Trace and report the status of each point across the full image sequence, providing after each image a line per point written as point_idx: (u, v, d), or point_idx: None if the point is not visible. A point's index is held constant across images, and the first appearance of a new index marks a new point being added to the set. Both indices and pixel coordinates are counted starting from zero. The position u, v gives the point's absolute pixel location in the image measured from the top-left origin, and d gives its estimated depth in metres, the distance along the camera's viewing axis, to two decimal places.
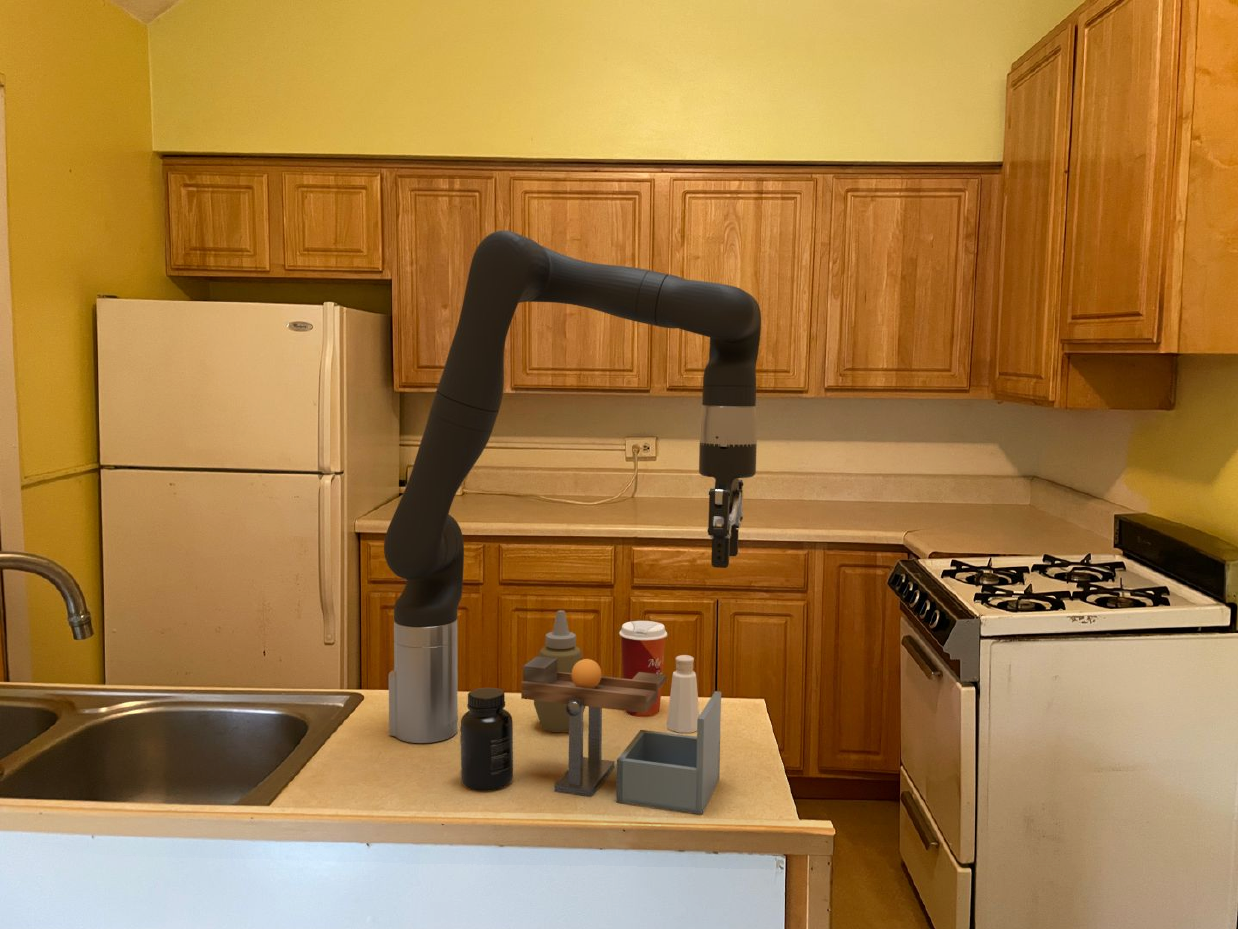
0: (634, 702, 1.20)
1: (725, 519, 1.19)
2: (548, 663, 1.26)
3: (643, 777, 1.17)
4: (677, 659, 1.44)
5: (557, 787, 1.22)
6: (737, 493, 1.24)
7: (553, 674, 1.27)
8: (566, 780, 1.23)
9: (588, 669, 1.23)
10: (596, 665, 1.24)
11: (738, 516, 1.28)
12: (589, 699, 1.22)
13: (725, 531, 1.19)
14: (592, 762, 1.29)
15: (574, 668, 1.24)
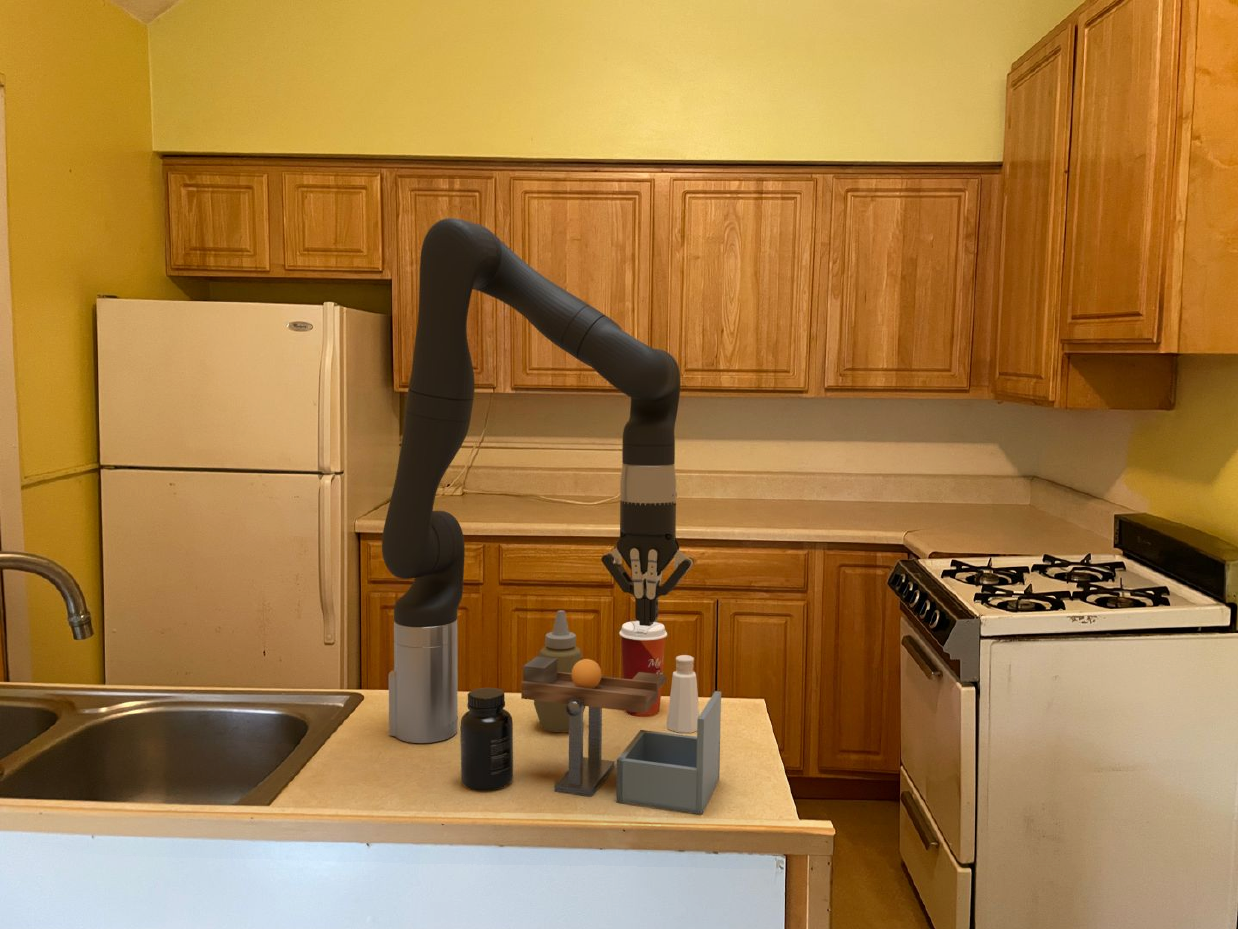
0: (634, 702, 1.20)
1: None
2: (548, 663, 1.26)
3: (643, 777, 1.17)
4: (677, 659, 1.44)
5: (557, 787, 1.22)
6: None
7: (553, 674, 1.27)
8: (566, 780, 1.23)
9: (588, 669, 1.23)
10: (596, 665, 1.24)
11: (646, 575, 1.29)
12: (589, 699, 1.22)
13: (671, 590, 1.28)
14: (592, 762, 1.29)
15: (574, 668, 1.24)
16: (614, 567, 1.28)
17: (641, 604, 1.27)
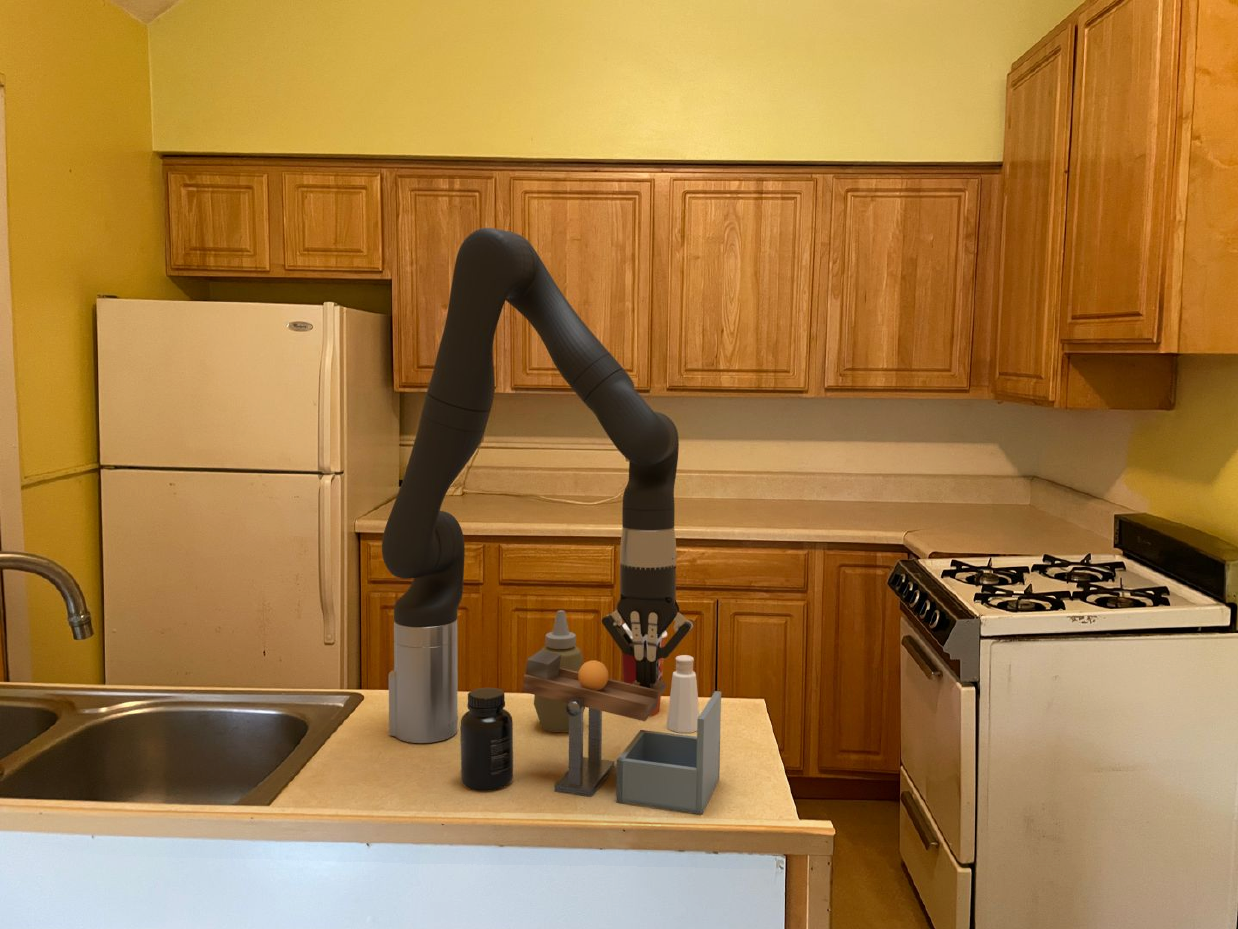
0: (635, 709, 1.20)
1: None
2: (552, 659, 1.26)
3: (643, 777, 1.17)
4: (677, 659, 1.44)
5: (557, 787, 1.22)
6: None
7: (555, 670, 1.27)
8: (566, 780, 1.23)
9: (598, 674, 1.23)
10: (606, 672, 1.24)
11: (647, 636, 1.30)
12: (590, 701, 1.22)
13: (671, 652, 1.28)
14: (592, 762, 1.29)
15: (585, 667, 1.23)
16: (614, 629, 1.28)
17: (641, 666, 1.28)
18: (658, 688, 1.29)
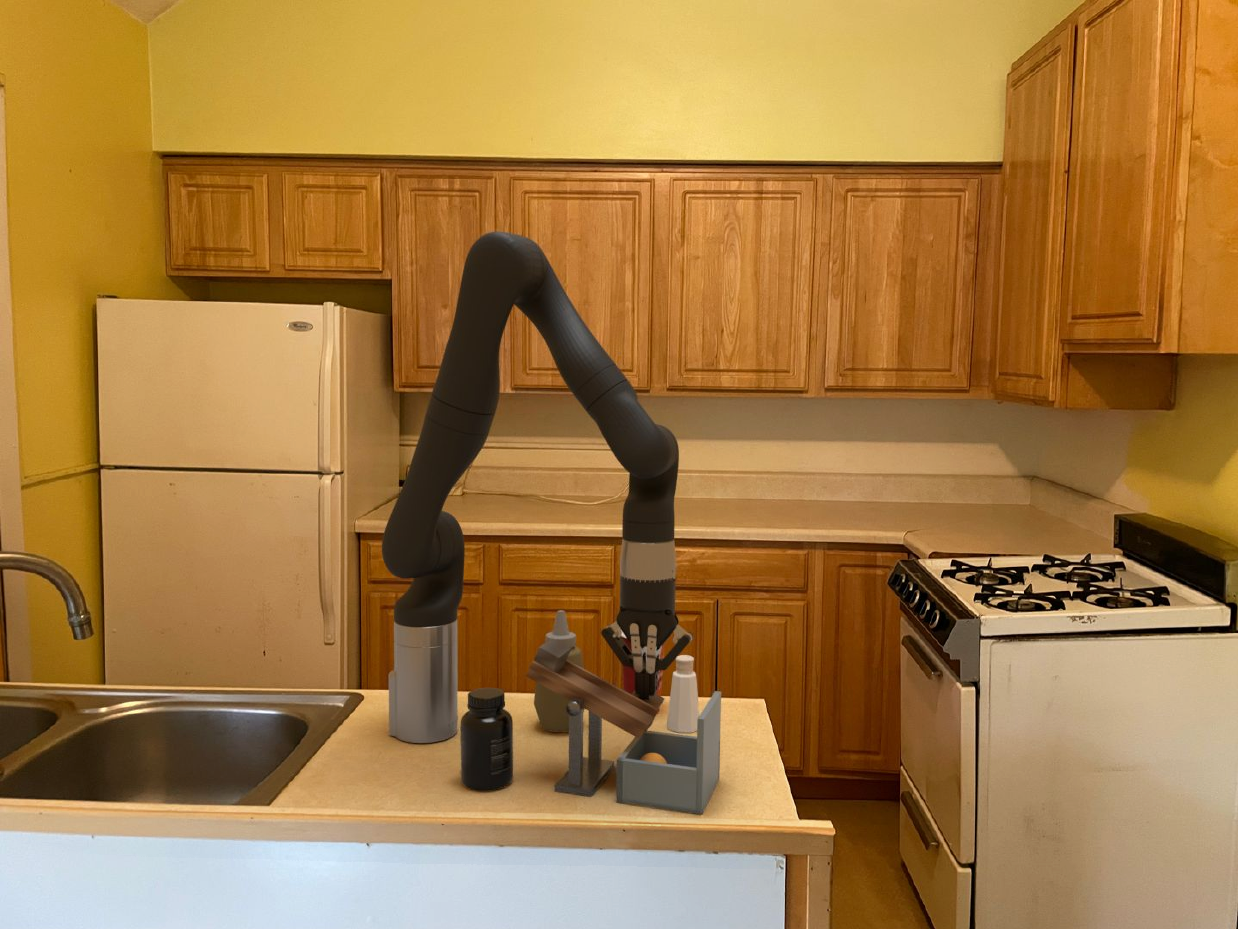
0: (633, 725, 1.20)
1: None
2: (562, 652, 1.25)
3: (643, 777, 1.17)
4: (677, 659, 1.44)
5: (557, 787, 1.22)
6: None
7: (562, 662, 1.26)
8: (566, 780, 1.23)
9: None
10: None
11: (646, 648, 1.30)
12: (591, 704, 1.22)
13: (670, 664, 1.29)
14: (592, 762, 1.29)
15: None
16: (614, 641, 1.28)
17: (640, 678, 1.28)
18: (656, 704, 1.29)
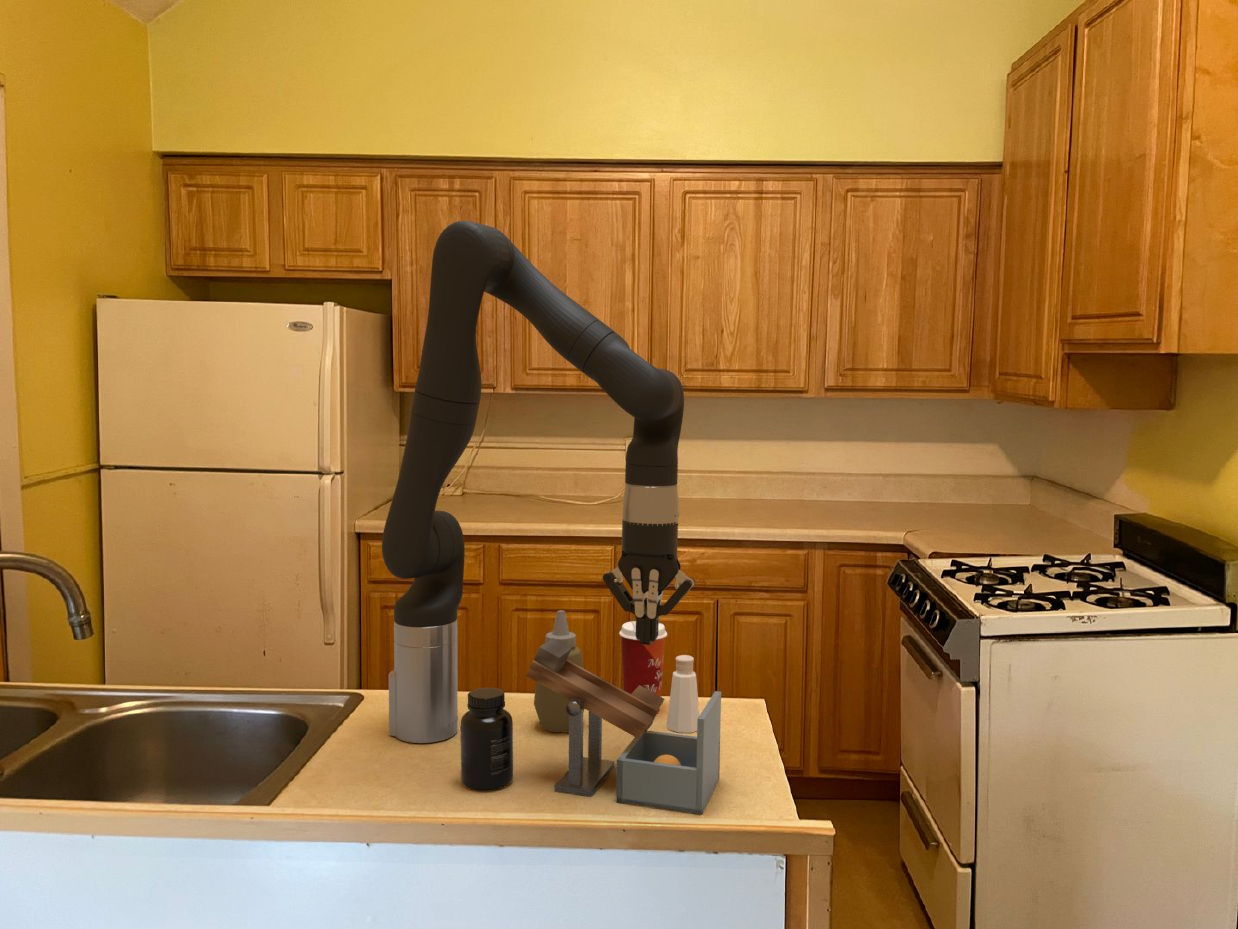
0: (633, 725, 1.20)
1: None
2: (563, 652, 1.25)
3: (643, 777, 1.17)
4: (677, 659, 1.44)
5: (557, 787, 1.22)
6: None
7: (562, 662, 1.26)
8: (566, 780, 1.23)
9: None
10: (654, 761, 1.23)
11: (647, 594, 1.29)
12: (591, 705, 1.22)
13: None
14: (592, 762, 1.29)
15: None
16: (615, 586, 1.28)
17: (641, 623, 1.27)
18: (656, 704, 1.29)
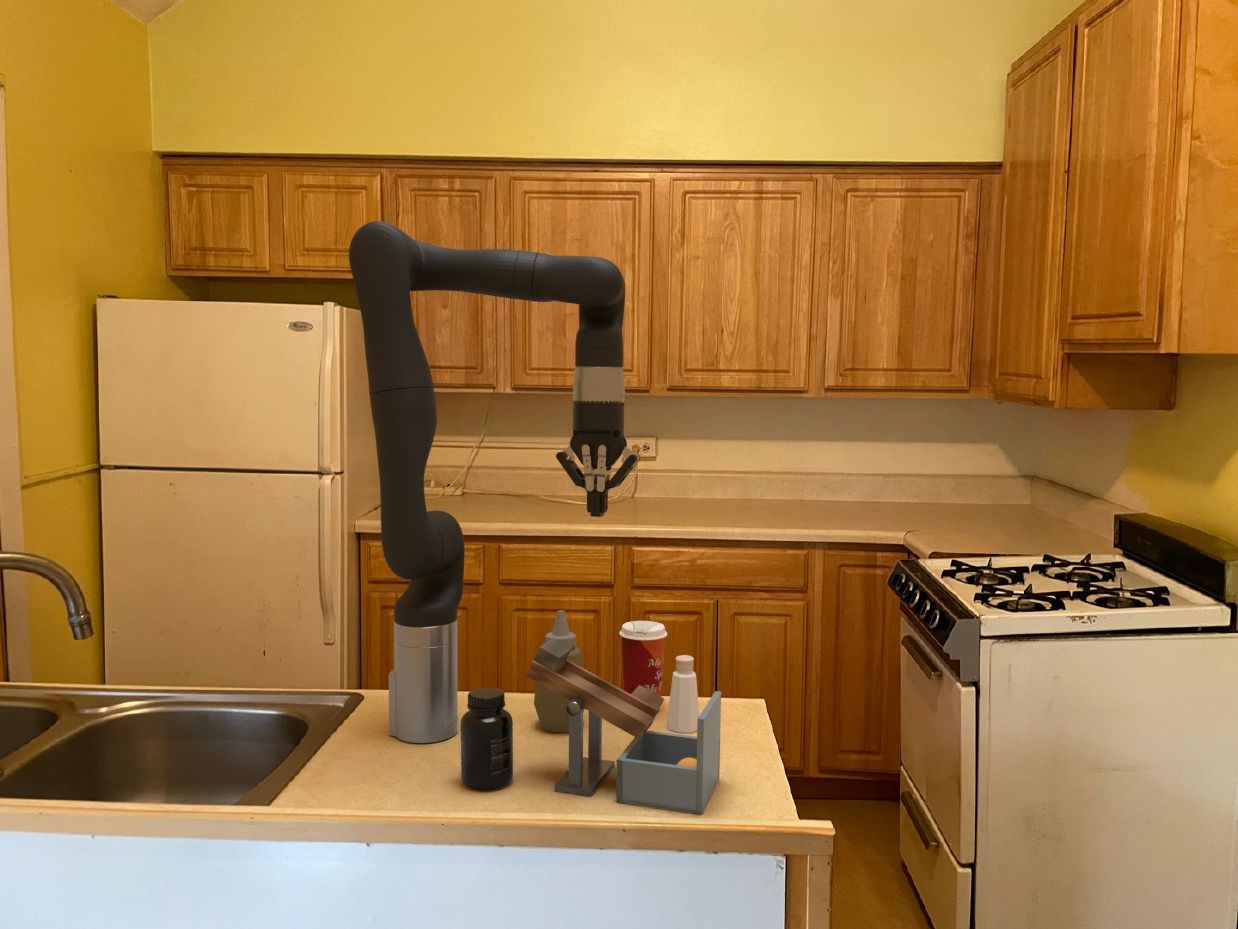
0: (633, 725, 1.20)
1: None
2: (563, 652, 1.25)
3: (643, 777, 1.17)
4: (677, 659, 1.44)
5: (557, 787, 1.22)
6: None
7: (562, 662, 1.26)
8: (566, 780, 1.23)
9: None
10: None
11: None
12: (591, 705, 1.22)
13: (620, 484, 1.39)
14: (592, 762, 1.29)
15: None
16: (567, 463, 1.39)
17: (592, 496, 1.38)
18: (656, 704, 1.29)
